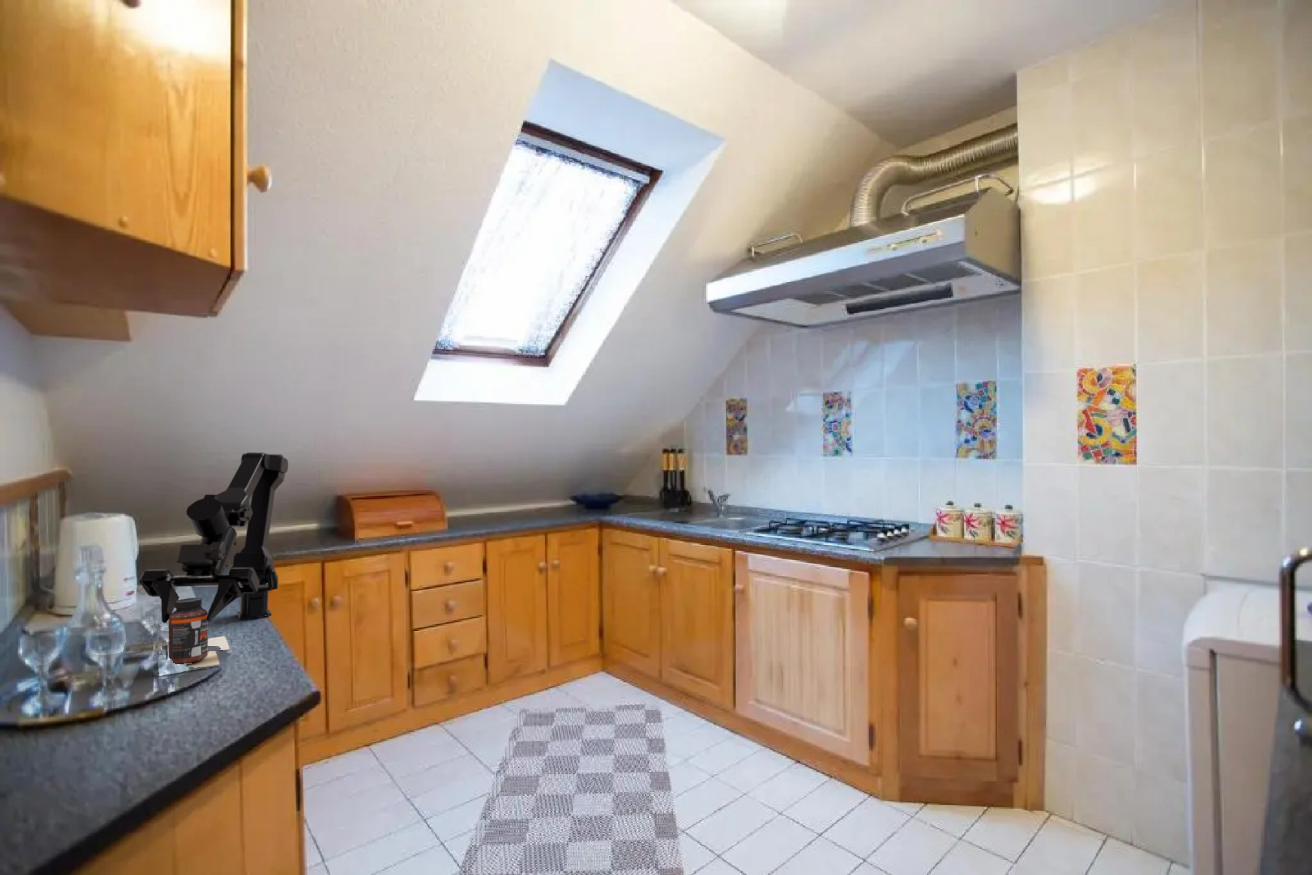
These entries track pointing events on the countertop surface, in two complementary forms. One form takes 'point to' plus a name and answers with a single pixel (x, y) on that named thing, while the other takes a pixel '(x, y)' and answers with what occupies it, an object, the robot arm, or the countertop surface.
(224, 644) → the cream flat square slab
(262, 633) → the countertop surface
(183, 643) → the supplement bottle
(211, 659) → the beech pad
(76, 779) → the countertop surface
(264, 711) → the countertop surface
